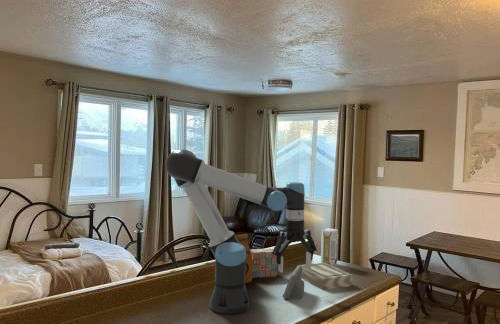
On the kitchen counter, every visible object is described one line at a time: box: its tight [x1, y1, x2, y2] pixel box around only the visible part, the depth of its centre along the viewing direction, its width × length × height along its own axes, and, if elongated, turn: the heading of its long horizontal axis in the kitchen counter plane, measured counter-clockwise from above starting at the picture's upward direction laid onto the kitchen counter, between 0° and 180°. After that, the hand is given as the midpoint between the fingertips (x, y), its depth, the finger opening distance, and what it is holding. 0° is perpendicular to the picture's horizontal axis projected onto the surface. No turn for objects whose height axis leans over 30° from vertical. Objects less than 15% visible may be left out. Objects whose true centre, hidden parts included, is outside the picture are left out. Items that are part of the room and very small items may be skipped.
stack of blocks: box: [250, 248, 278, 279], centre depth 194 cm, size 21×6×12 cm, turn 107°
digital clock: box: [282, 265, 305, 300], centre depth 169 cm, size 16×9×11 cm, turn 151°
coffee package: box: [235, 233, 253, 284], centre depth 182 cm, size 10×12×22 cm
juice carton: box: [320, 227, 339, 267], centre depth 216 cm, size 8×9×19 cm
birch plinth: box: [296, 262, 353, 291], centre depth 189 cm, size 16×22×5 cm
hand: (294, 269), depth 169 cm, fingers open, 13 cm apart
